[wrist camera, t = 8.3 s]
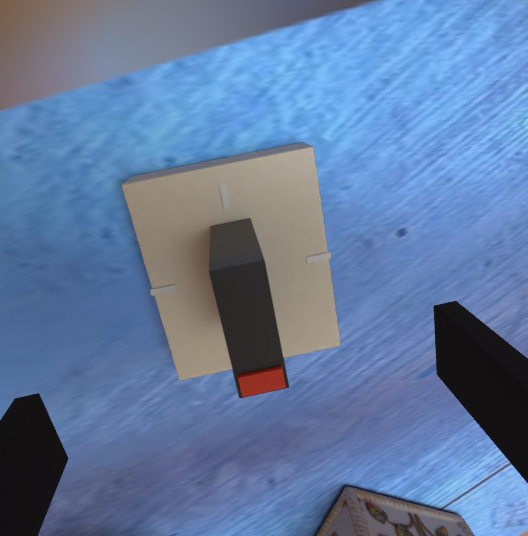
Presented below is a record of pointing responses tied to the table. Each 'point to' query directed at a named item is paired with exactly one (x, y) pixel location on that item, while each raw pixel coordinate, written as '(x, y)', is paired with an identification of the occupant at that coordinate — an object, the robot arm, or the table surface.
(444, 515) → the decorative jar
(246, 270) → the dark grey block
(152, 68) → the table surface
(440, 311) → the robot arm
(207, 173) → the beige flat block
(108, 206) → the table surface
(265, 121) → the table surface
